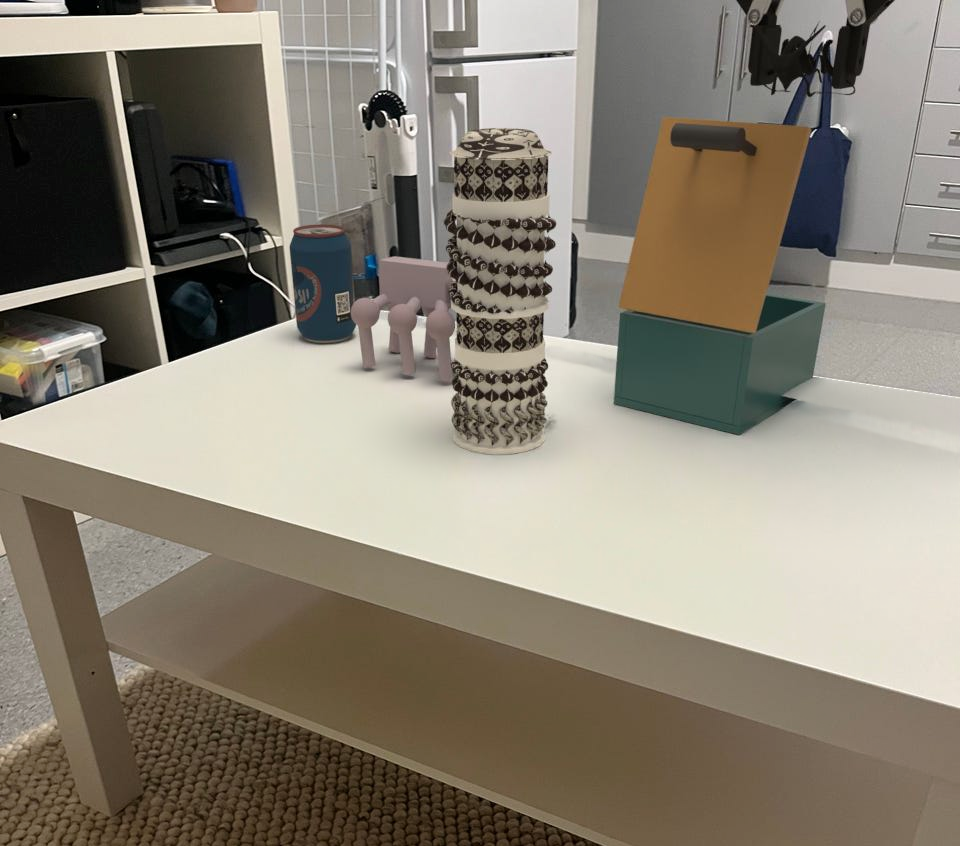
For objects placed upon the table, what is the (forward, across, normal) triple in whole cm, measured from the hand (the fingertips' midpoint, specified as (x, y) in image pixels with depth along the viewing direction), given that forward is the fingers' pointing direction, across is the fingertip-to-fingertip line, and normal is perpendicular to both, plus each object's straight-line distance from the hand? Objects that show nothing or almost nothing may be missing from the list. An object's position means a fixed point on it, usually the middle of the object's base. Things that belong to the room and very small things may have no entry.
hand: (801, 83), depth 78 cm
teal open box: (+28, +7, -7) cm, 30 cm away
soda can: (+28, +54, +2) cm, 60 cm away
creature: (+1, 0, 0) cm, 1 cm away
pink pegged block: (+28, +34, +3) cm, 44 cm away
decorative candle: (+28, +18, +15) cm, 37 cm away
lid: (+11, +7, -2) cm, 14 cm away
